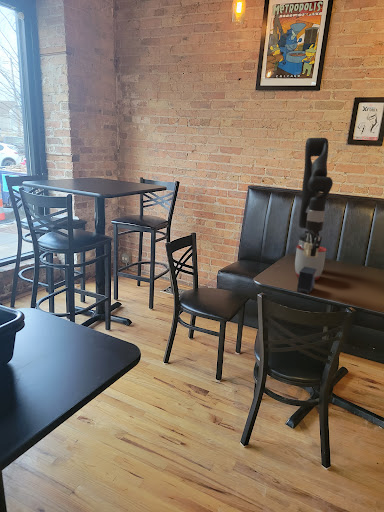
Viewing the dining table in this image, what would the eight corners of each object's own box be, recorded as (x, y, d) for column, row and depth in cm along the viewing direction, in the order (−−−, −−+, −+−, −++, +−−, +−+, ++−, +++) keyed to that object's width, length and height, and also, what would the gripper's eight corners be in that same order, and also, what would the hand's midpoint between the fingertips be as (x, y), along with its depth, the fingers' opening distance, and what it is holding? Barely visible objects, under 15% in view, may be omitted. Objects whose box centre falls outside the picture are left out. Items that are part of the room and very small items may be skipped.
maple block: (303, 254, 175) (304, 242, 173) (312, 254, 175) (314, 242, 174) (307, 257, 170) (309, 244, 168) (317, 257, 171) (319, 245, 169)
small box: (309, 294, 171) (312, 273, 168) (296, 291, 174) (298, 271, 172) (314, 288, 180) (317, 268, 177) (301, 285, 183) (304, 266, 180)
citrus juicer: (308, 271, 208) (313, 238, 203) (328, 281, 192) (334, 245, 187) (285, 273, 203) (289, 238, 198) (303, 283, 187) (308, 246, 182)
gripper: (301, 217, 175) (297, 250, 179) (314, 222, 161) (309, 258, 165) (316, 217, 175) (311, 251, 180) (329, 222, 162) (324, 258, 166)
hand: (310, 254), depth 172 cm, fingers closed on maple block, 5 cm apart
